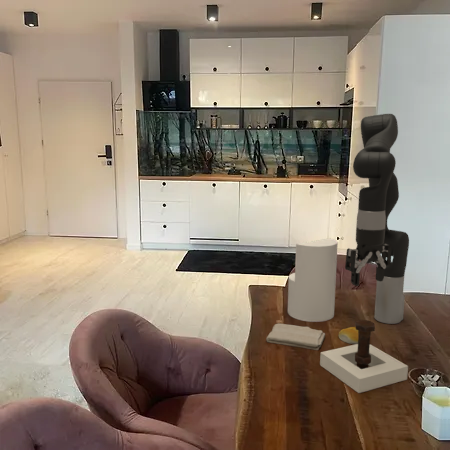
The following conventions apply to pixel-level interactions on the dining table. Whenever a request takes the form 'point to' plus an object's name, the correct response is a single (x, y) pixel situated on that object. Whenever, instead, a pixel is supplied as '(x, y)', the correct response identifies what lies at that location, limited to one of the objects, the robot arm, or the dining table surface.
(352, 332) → the bread roll
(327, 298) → the cylinder
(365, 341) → the bolt
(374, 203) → the robot arm
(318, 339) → the washcloth
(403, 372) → the collar block
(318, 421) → the dining table surface
